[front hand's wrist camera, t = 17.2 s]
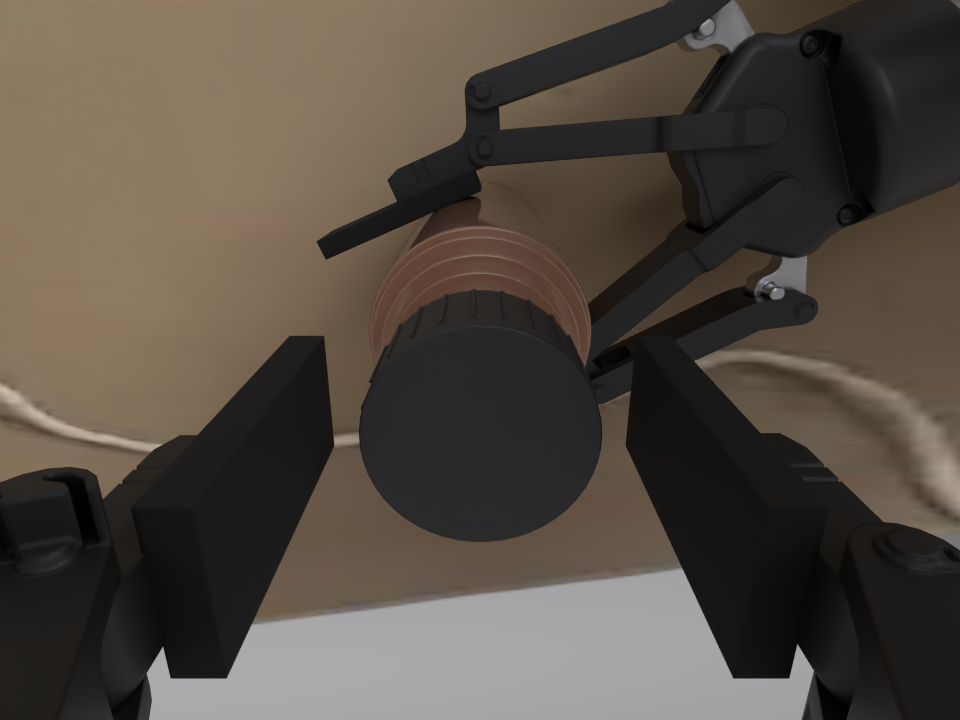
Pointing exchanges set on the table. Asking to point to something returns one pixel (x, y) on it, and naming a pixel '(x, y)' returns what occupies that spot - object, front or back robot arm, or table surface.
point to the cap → (480, 418)
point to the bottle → (481, 266)
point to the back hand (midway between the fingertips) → (369, 321)
